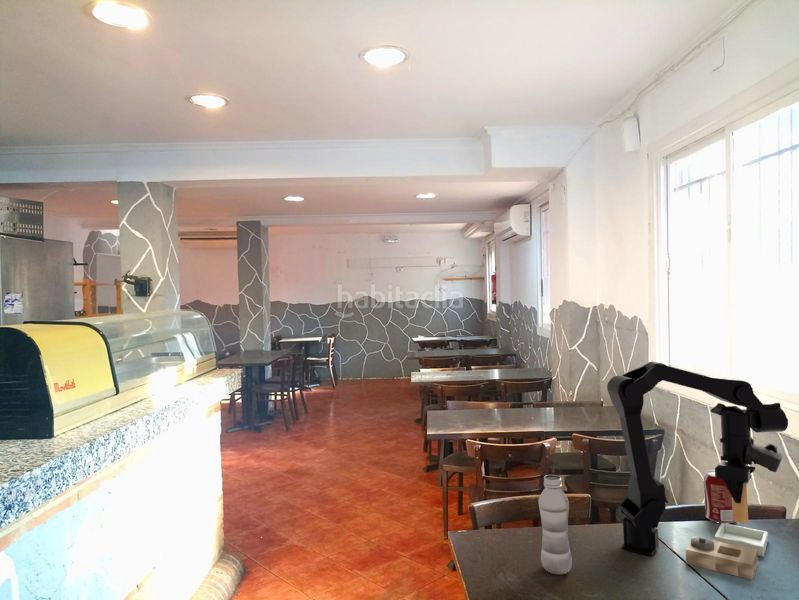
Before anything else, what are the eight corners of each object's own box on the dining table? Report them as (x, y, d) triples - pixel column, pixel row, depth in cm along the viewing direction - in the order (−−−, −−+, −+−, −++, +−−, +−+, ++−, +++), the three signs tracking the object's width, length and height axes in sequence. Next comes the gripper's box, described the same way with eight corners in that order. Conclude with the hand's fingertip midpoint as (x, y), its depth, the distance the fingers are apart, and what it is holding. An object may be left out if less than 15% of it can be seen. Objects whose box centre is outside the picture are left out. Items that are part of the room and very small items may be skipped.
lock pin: (729, 521, 121) (727, 478, 121) (732, 515, 124) (730, 474, 124) (749, 525, 118) (747, 481, 119) (751, 519, 121) (749, 477, 122)
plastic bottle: (572, 565, 115) (568, 473, 115) (572, 580, 108) (567, 483, 108) (542, 561, 117) (538, 471, 117) (540, 577, 110) (535, 481, 111)
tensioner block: (686, 563, 113) (685, 542, 113) (694, 549, 119) (693, 529, 119) (752, 580, 106) (751, 558, 106) (757, 564, 112) (756, 543, 112)
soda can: (741, 526, 130) (738, 477, 130) (711, 525, 132) (708, 477, 132) (729, 515, 137) (727, 469, 137) (701, 514, 138) (699, 468, 138)
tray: (715, 545, 121) (714, 536, 121) (722, 531, 128) (721, 522, 128) (763, 556, 115) (763, 546, 115) (768, 541, 122) (767, 531, 122)
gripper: (774, 447, 109) (778, 522, 109) (782, 429, 123) (785, 495, 123) (712, 440, 116) (716, 510, 116) (727, 423, 131) (730, 486, 130)
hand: (739, 500), depth 121 cm, fingers closed on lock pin, 3 cm apart
